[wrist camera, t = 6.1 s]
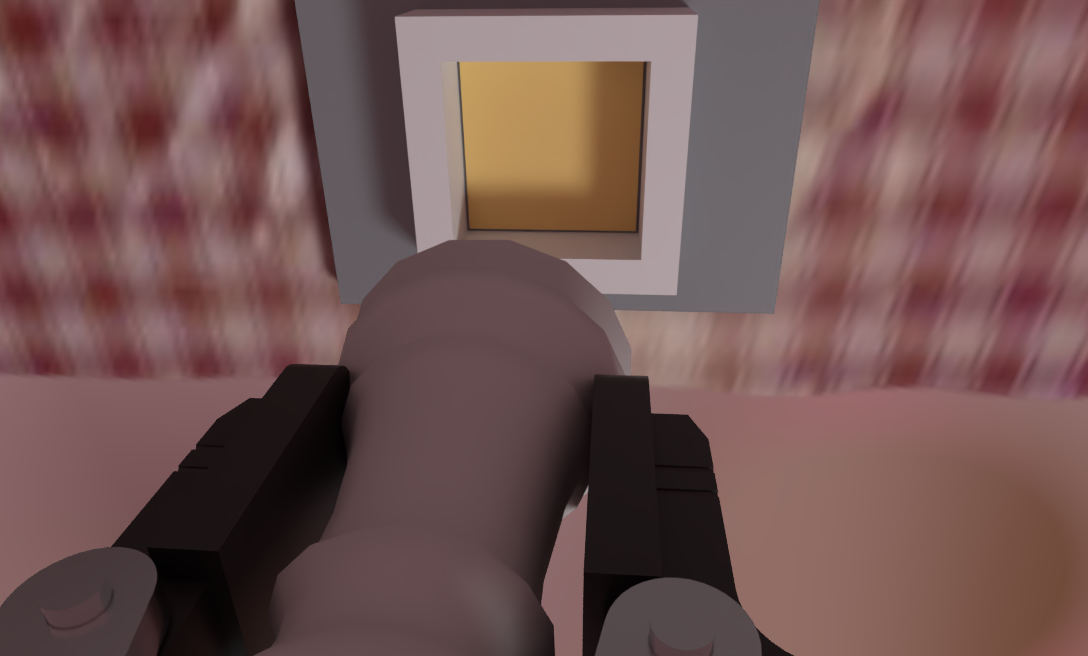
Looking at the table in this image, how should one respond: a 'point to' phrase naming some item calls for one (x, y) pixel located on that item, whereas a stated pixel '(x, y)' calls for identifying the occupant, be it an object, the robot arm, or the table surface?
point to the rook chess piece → (454, 458)
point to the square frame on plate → (565, 137)
